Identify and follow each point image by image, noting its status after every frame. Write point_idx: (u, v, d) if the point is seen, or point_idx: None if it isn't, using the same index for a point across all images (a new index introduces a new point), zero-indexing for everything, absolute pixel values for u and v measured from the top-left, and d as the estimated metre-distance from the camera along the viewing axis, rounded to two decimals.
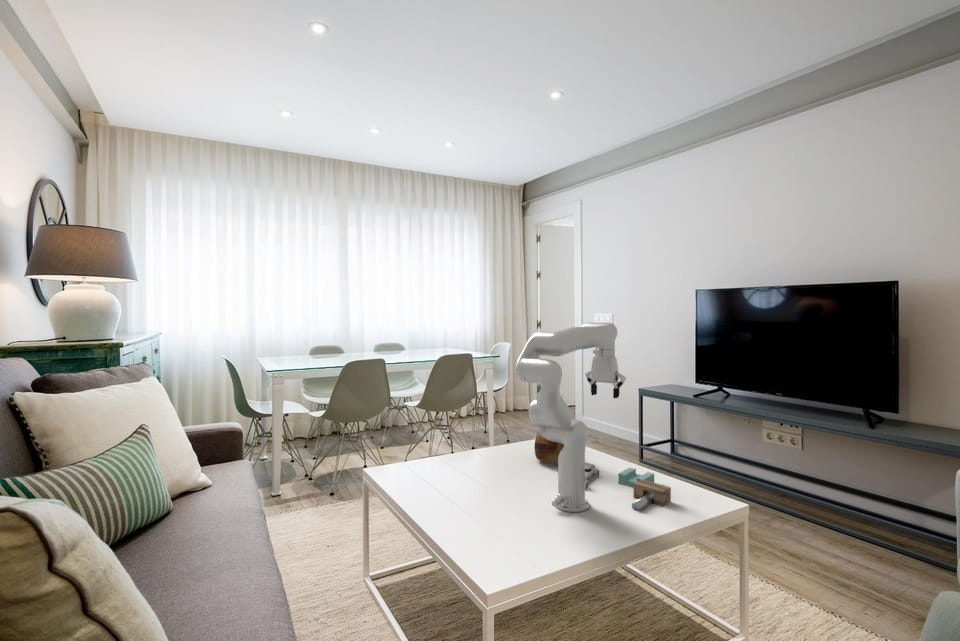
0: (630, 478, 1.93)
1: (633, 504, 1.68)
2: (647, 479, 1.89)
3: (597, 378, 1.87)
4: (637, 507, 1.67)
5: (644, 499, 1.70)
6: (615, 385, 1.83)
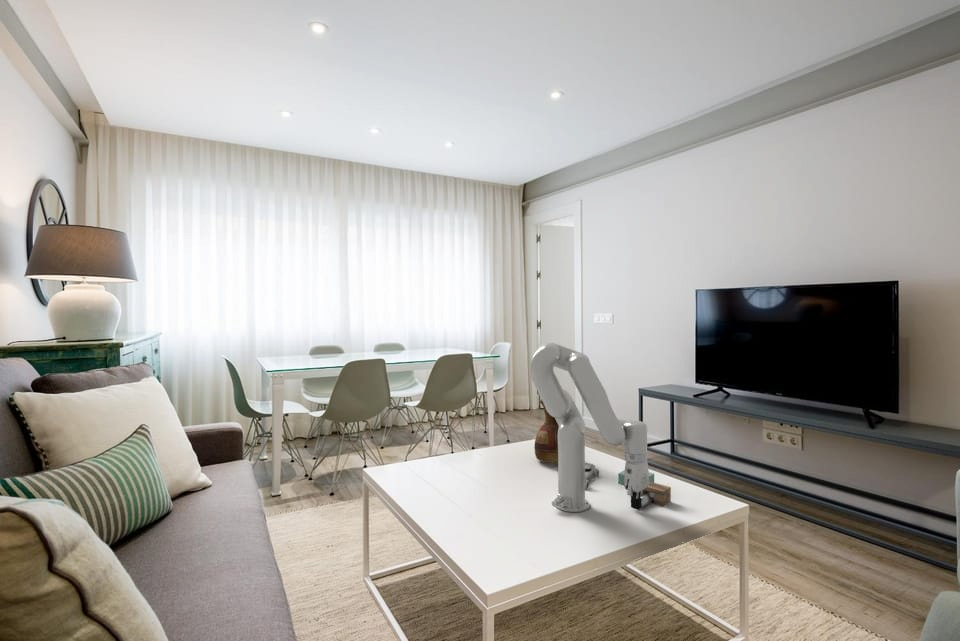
0: None
1: None
2: None
3: (641, 487, 1.63)
4: None
5: (645, 497, 1.71)
6: (641, 493, 1.67)
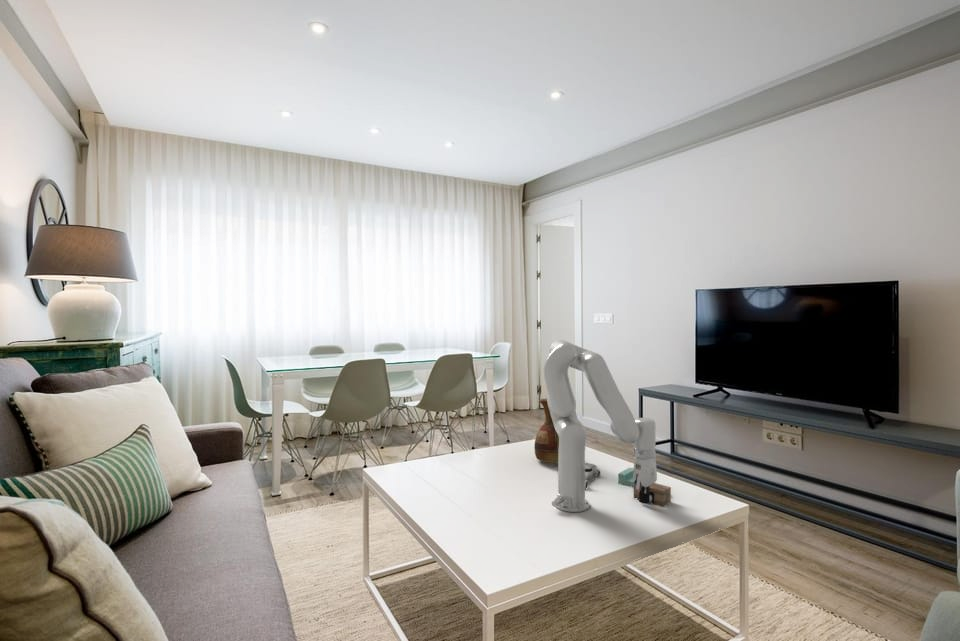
0: (630, 478, 1.93)
1: None
2: None
3: (649, 482, 1.69)
4: None
5: None
6: (649, 488, 1.72)
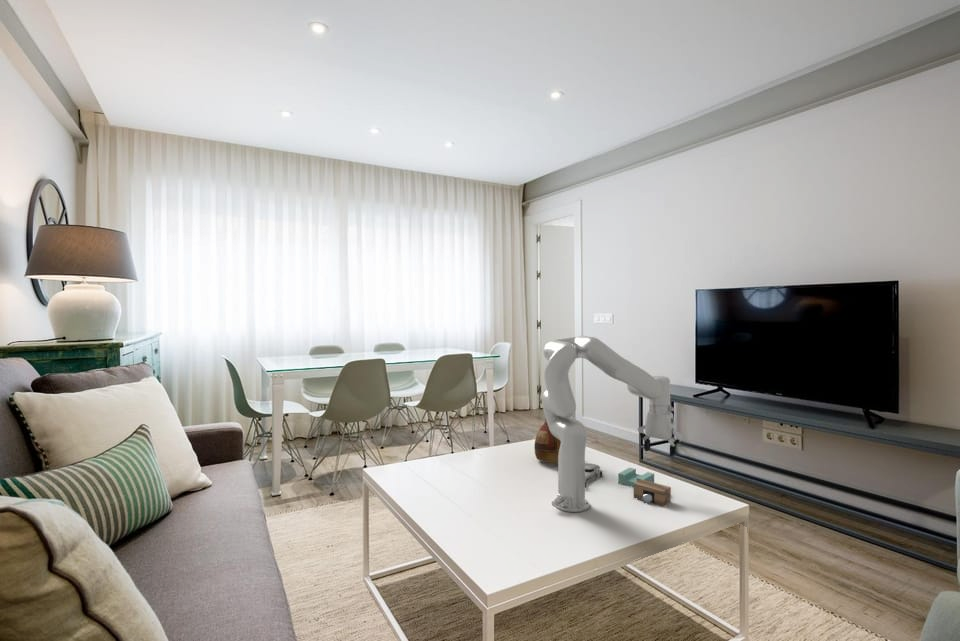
0: (630, 478, 1.93)
1: (643, 497, 1.74)
2: (647, 479, 1.89)
3: None
4: (646, 500, 1.73)
5: None
6: None
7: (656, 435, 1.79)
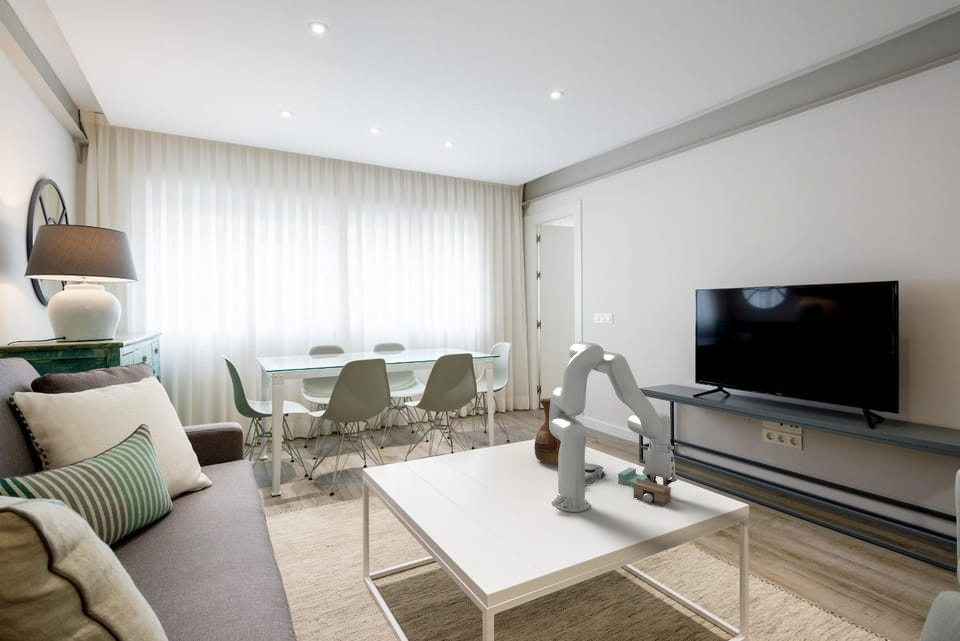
0: (630, 478, 1.93)
1: (643, 497, 1.74)
2: (647, 479, 1.89)
3: None
4: (647, 499, 1.73)
5: None
6: None
7: (656, 473, 1.80)
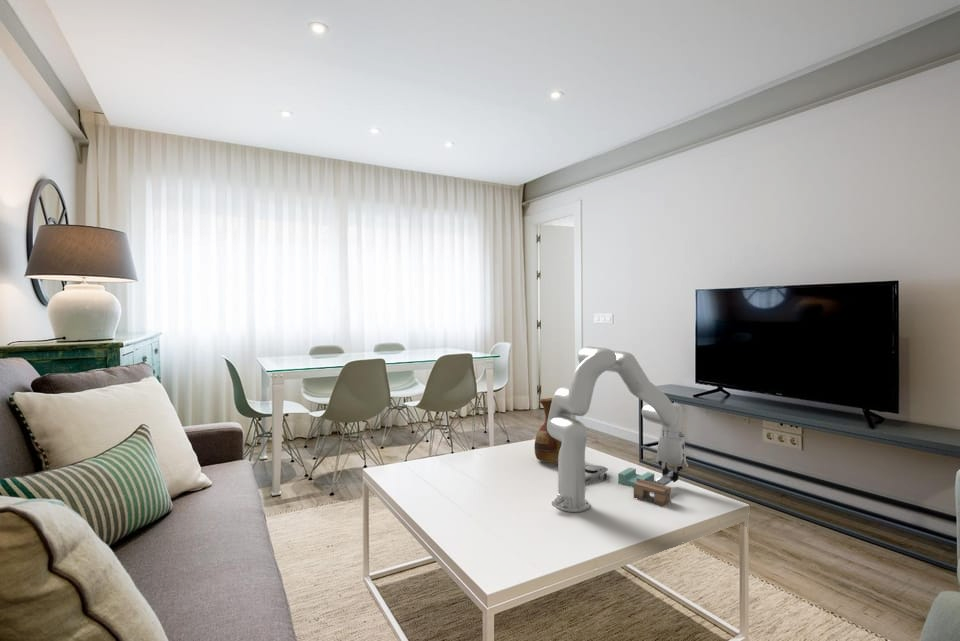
0: (630, 478, 1.93)
1: (655, 482, 1.82)
2: (647, 479, 1.89)
3: None
4: None
5: (665, 477, 1.84)
6: None
7: (667, 460, 1.88)
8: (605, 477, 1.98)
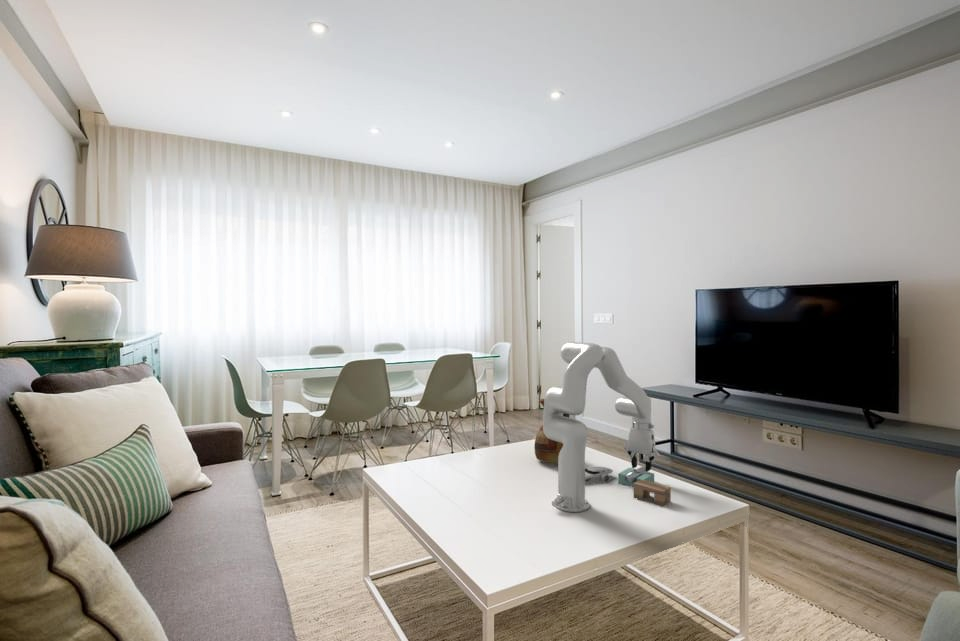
0: None
1: (626, 477, 1.89)
2: (647, 479, 1.89)
3: None
4: (629, 479, 1.88)
5: (635, 472, 1.92)
6: None
7: (638, 450, 1.95)
8: (607, 479, 1.96)
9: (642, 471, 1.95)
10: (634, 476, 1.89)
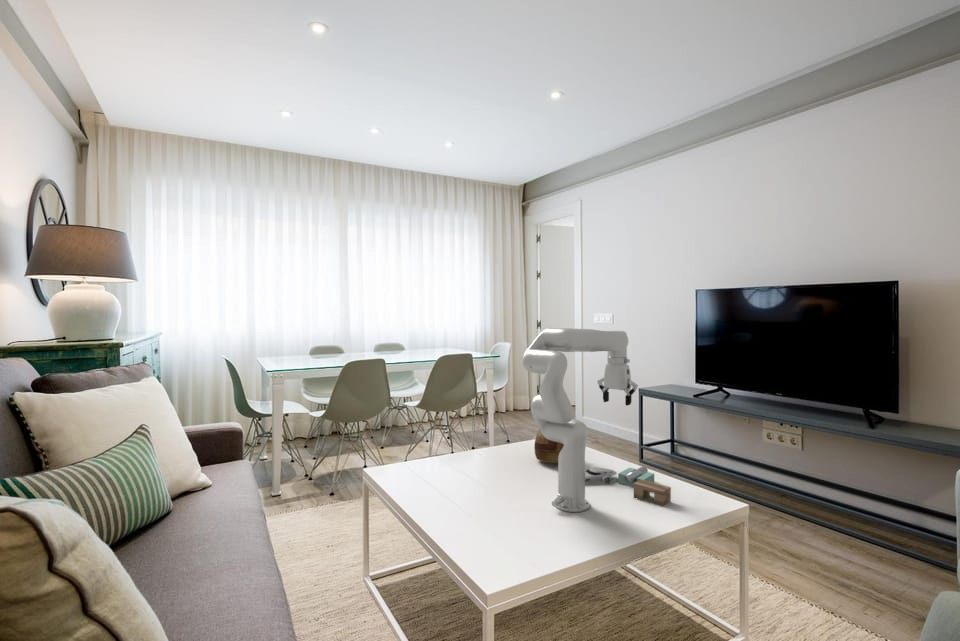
0: None
1: (626, 477, 1.89)
2: (647, 479, 1.89)
3: None
4: (629, 479, 1.88)
5: (635, 472, 1.92)
6: None
7: (613, 386, 1.90)
8: (608, 481, 1.93)
9: (642, 471, 1.95)
10: (634, 476, 1.89)
